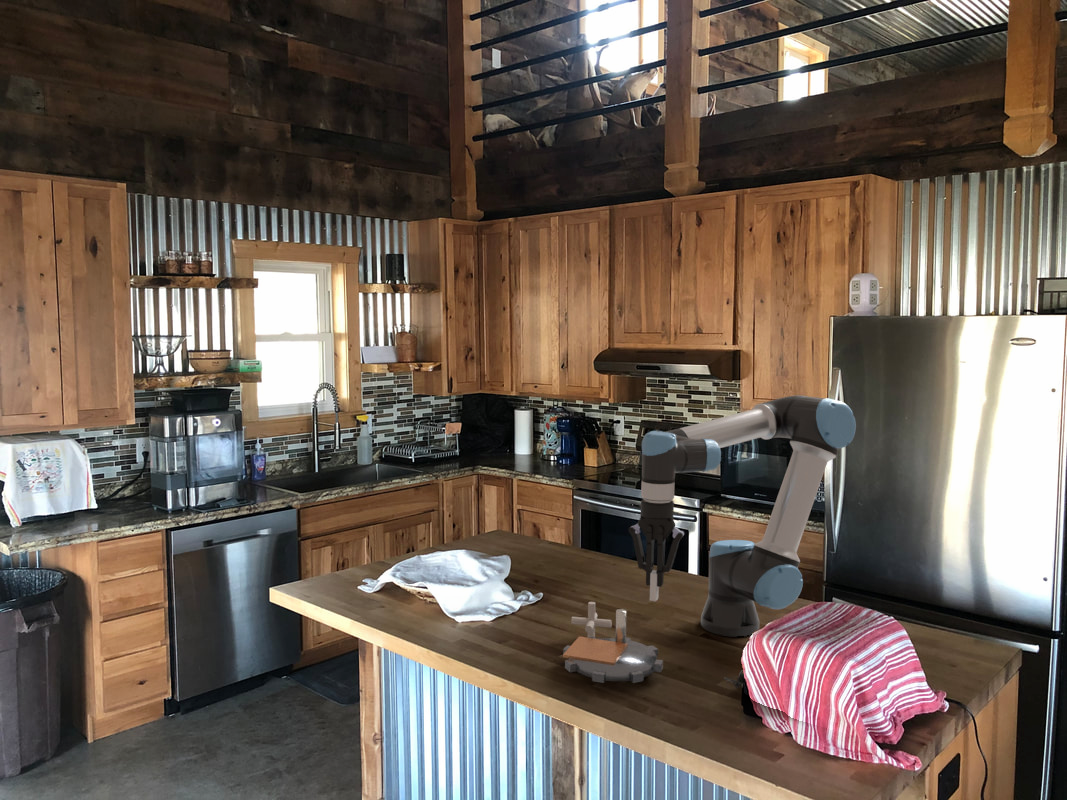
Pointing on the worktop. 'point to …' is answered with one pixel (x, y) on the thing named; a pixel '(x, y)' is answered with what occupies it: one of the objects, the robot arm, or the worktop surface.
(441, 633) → the worktop surface
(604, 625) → the pipe connector
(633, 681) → the sprocket
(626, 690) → the worktop surface
